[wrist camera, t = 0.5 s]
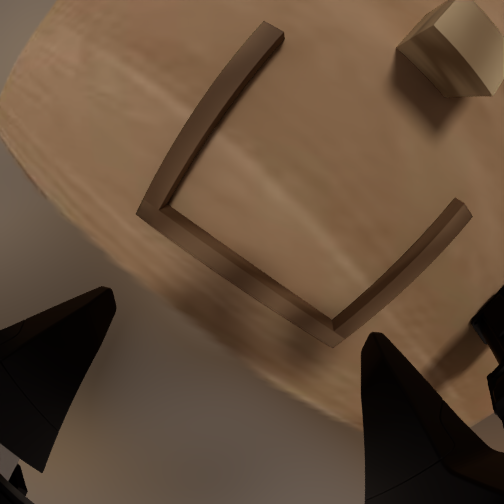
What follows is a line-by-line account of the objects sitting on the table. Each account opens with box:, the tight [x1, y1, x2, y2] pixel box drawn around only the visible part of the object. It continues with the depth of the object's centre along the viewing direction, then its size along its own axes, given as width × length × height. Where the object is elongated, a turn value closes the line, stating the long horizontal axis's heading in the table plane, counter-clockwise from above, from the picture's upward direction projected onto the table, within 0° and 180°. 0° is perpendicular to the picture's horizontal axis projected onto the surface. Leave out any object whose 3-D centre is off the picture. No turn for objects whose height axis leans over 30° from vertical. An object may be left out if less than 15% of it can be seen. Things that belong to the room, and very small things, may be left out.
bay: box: [136, 21, 473, 348], centre depth 18 cm, size 20×16×2 cm
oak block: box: [396, 0, 504, 98], centre depth 9 cm, size 5×5×6 cm
